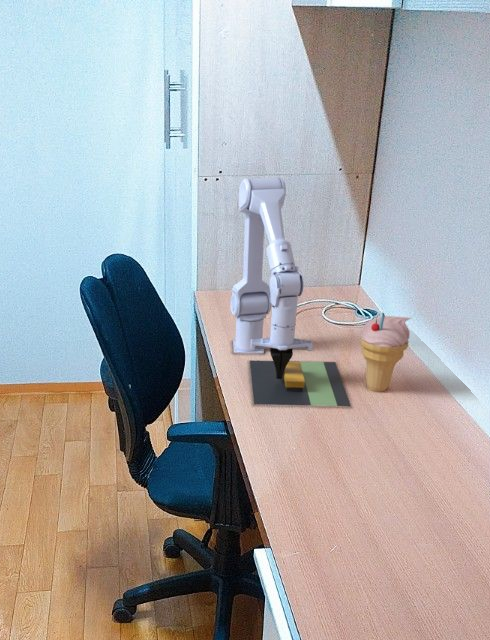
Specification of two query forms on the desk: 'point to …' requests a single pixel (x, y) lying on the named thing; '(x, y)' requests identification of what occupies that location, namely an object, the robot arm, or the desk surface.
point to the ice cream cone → (383, 349)
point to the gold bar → (294, 377)
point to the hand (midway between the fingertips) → (279, 377)
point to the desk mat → (317, 391)
